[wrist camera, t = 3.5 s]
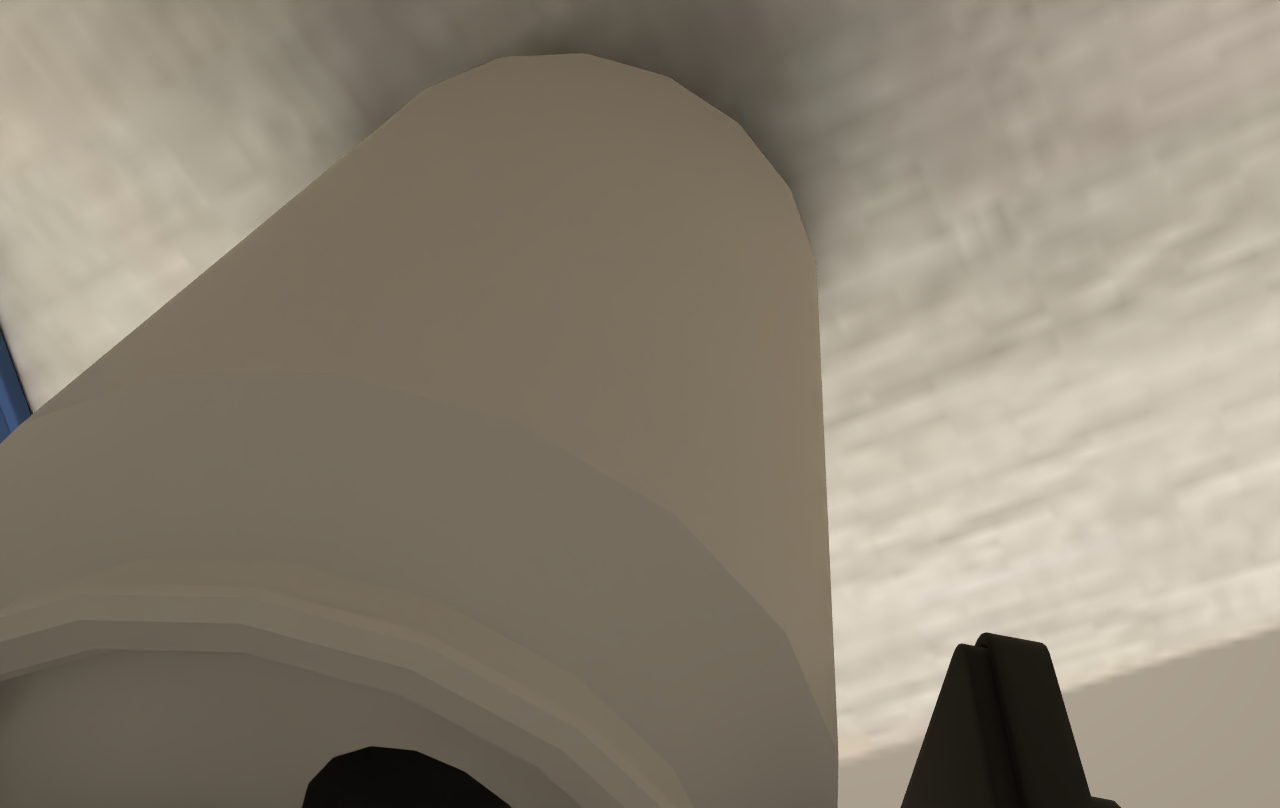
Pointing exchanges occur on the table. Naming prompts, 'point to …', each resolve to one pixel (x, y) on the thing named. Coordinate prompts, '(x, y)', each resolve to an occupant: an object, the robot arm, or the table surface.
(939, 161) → the table surface
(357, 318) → the can
